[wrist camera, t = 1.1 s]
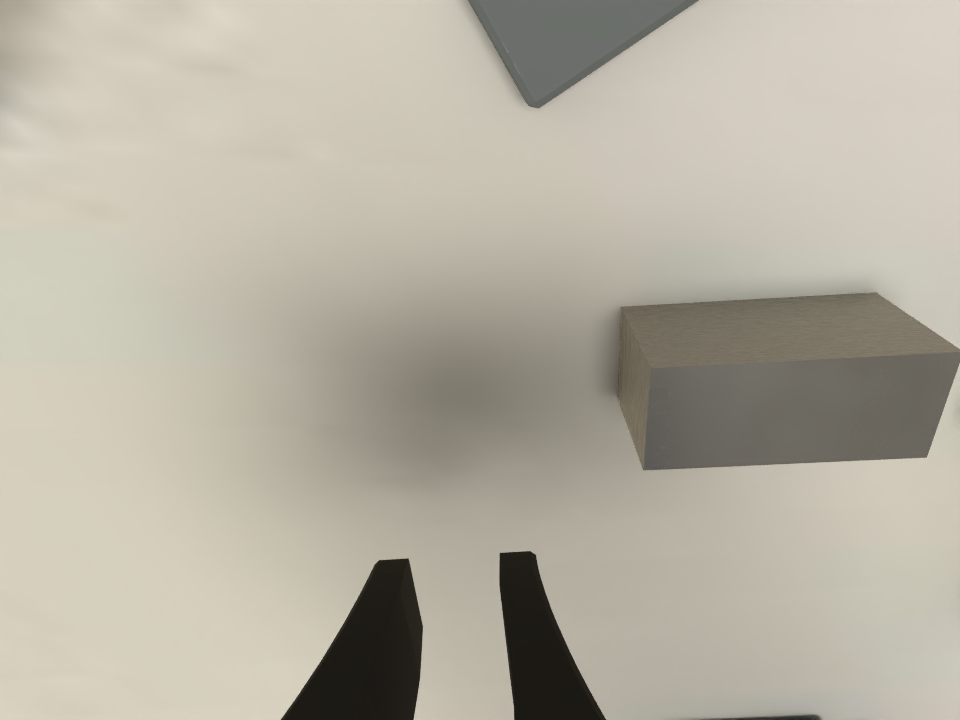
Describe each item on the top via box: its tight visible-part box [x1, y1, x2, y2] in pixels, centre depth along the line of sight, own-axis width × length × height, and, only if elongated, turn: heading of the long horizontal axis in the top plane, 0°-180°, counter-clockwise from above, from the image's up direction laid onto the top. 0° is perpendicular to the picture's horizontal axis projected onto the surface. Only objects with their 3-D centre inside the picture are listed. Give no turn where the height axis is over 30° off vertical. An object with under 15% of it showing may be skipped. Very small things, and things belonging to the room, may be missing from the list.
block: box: [617, 293, 960, 470], centre depth 19 cm, size 3×8×4 cm, turn 94°
